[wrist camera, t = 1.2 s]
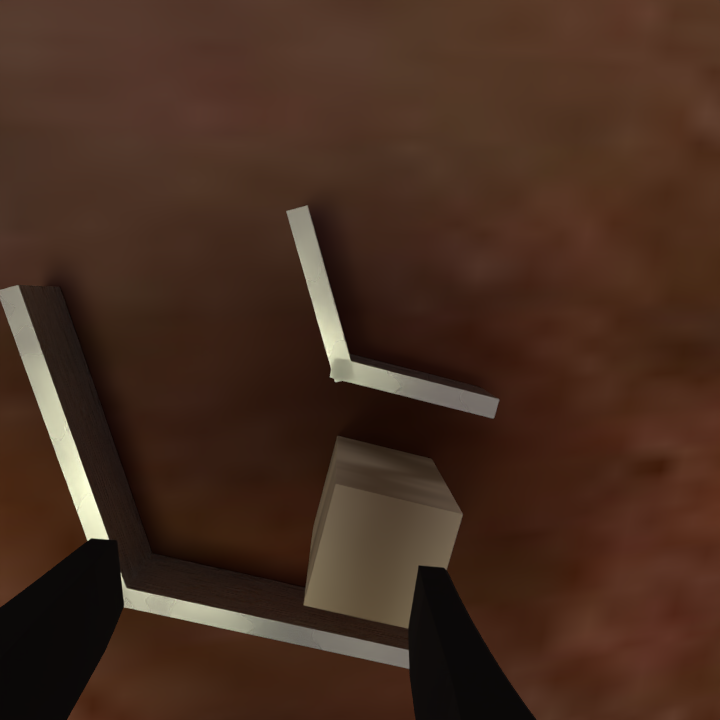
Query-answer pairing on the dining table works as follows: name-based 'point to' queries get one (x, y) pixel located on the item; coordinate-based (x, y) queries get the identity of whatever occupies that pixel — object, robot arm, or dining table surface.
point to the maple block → (378, 531)
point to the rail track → (115, 501)
